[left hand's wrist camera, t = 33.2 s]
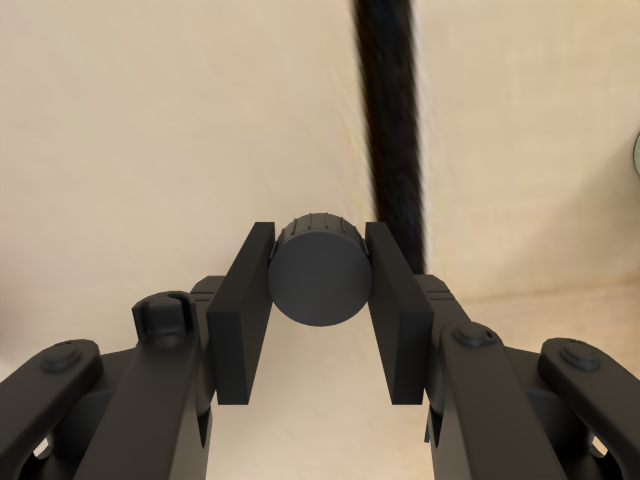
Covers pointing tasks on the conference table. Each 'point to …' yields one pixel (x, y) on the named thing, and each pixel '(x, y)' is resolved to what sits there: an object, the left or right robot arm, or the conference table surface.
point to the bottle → (637, 155)
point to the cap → (320, 270)
